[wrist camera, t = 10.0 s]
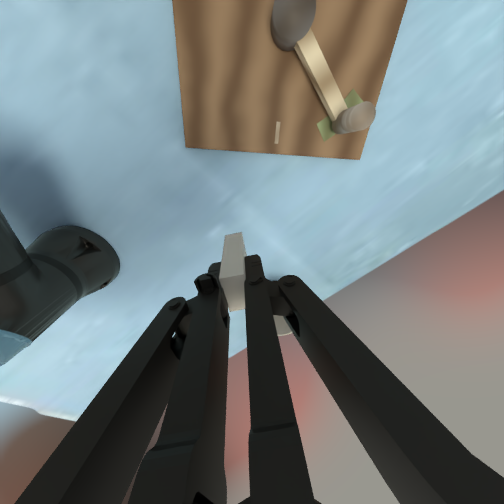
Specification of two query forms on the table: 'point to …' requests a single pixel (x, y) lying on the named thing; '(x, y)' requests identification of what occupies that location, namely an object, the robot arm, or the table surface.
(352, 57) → the brown wooden flat board
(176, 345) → the robot arm
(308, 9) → the wooden handled spoon
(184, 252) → the table surface
